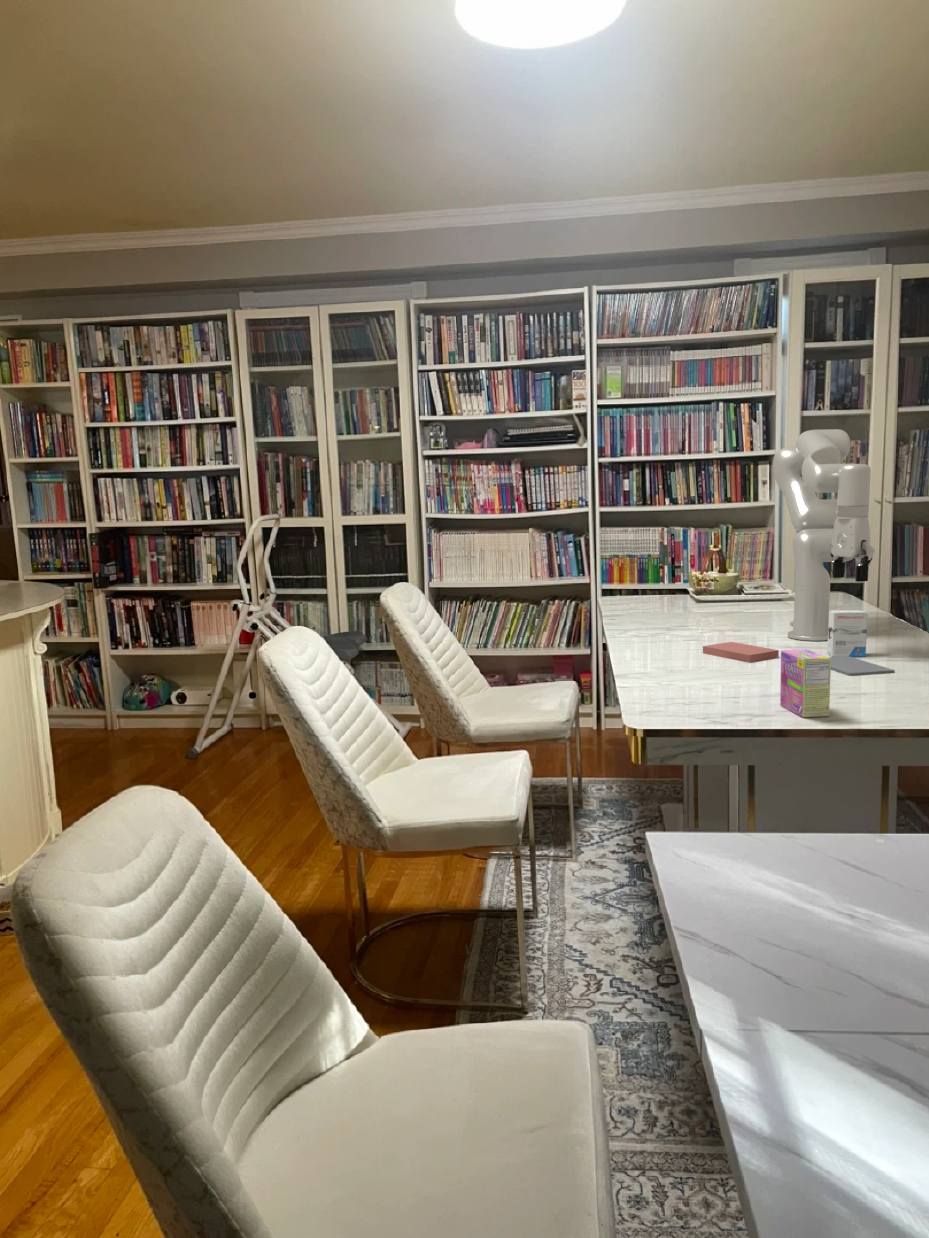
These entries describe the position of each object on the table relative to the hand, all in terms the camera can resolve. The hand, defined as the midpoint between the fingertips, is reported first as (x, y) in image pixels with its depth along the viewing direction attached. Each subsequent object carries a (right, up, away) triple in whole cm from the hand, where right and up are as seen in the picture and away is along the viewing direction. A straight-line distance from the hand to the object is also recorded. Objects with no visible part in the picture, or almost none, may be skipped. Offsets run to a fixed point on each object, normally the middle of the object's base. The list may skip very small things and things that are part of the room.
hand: (849, 579), depth 234 cm
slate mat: (-5, -22, -11) cm, 25 cm away
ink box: (0, -20, +3) cm, 20 cm away
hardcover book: (-27, -21, +6) cm, 34 cm away
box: (-31, -29, -51) cm, 67 cm away
